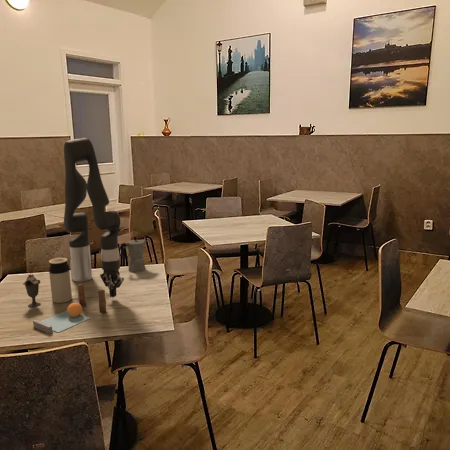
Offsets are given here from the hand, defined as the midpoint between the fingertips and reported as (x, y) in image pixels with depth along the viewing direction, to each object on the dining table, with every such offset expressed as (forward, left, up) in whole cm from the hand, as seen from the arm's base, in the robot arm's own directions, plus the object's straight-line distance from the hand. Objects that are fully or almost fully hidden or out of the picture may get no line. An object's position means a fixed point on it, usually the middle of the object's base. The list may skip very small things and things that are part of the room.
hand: (113, 296), depth 181 cm
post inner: (-6, -11, -2) cm, 13 cm away
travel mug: (-19, -12, -2) cm, 23 cm away
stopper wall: (0, -33, -2) cm, 34 cm away
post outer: (+6, -11, -2) cm, 13 cm away
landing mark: (0, -25, -2) cm, 25 cm away
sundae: (-24, -22, -2) cm, 33 cm away
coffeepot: (-22, +34, -2) cm, 41 cm away
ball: (0, -20, +1) cm, 20 cm away
